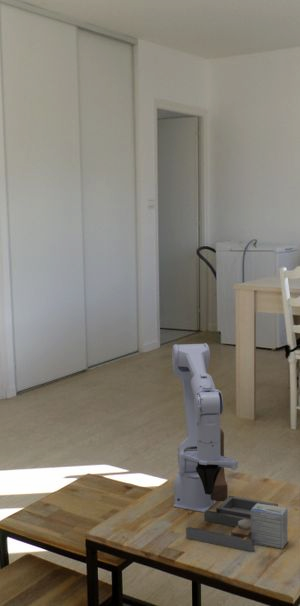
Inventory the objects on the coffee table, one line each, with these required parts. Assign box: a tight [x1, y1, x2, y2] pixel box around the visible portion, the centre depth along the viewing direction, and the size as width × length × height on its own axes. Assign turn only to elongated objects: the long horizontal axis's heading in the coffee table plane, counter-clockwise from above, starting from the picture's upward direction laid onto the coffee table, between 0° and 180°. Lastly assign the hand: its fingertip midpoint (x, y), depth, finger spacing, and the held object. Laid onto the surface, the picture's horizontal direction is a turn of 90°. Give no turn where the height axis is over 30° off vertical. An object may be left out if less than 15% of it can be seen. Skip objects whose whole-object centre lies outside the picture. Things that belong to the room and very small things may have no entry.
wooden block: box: [211, 427, 228, 501], centre depth 208 cm, size 9×4×18 cm, turn 6°
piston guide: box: [185, 510, 255, 553], centre depth 183 cm, size 17×13×3 cm
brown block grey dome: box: [230, 518, 251, 539], centre depth 181 cm, size 4×9×4 cm, turn 152°
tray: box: [215, 495, 279, 518], centre depth 194 cm, size 13×9×3 cm
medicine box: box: [251, 503, 289, 550], centre depth 178 cm, size 8×4×9 cm, turn 63°
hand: (209, 493), depth 186 cm, fingers closed
